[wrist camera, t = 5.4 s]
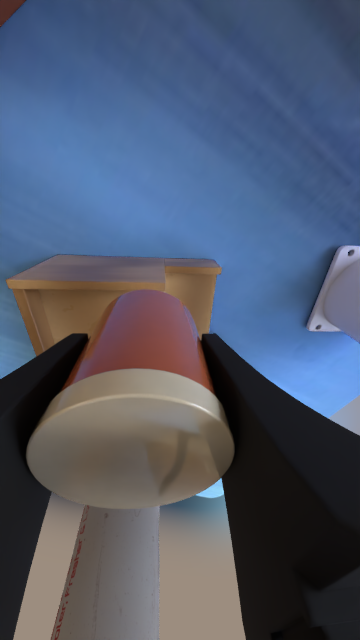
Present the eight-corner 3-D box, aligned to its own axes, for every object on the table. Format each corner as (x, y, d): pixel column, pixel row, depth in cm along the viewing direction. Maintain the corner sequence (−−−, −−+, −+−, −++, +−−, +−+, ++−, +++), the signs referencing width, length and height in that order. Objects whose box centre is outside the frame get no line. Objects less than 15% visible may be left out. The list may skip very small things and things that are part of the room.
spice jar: (203, 287, 9) (256, 392, 4) (193, 370, 12) (219, 503, 7) (88, 285, 9) (-13, 400, 4) (103, 372, 11) (54, 516, 6)
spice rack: (214, 259, 17) (238, 284, 11) (197, 391, 24) (207, 443, 19) (57, 254, 16) (4, 279, 10) (89, 394, 23) (68, 450, 18)
